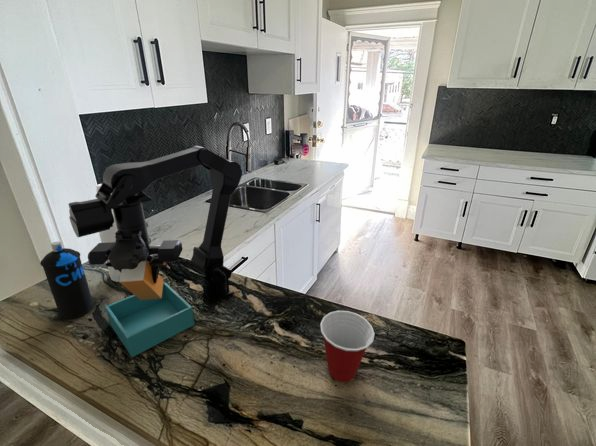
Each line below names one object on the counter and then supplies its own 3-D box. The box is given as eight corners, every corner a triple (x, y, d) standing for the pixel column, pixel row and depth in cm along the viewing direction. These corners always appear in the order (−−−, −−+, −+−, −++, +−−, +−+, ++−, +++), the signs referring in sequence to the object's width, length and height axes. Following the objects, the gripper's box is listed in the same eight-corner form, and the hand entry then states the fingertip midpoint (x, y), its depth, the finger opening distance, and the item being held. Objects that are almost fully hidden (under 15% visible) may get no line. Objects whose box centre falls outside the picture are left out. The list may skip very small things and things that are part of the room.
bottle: (105, 282, 97) (80, 188, 85) (118, 268, 104) (97, 180, 92) (131, 282, 97) (110, 188, 85) (142, 269, 104) (124, 181, 92)
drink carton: (143, 281, 81) (122, 260, 70) (163, 279, 82) (146, 259, 70) (140, 300, 79) (118, 282, 67) (161, 298, 79) (143, 280, 68)
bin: (168, 298, 90) (165, 282, 87) (194, 324, 80) (192, 307, 78) (109, 324, 80) (104, 306, 77) (131, 357, 70) (127, 338, 68)
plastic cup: (357, 403, 60) (363, 356, 56) (308, 377, 66) (310, 332, 61) (375, 365, 69) (382, 321, 64) (331, 345, 74) (334, 303, 69)
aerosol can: (51, 314, 83) (26, 247, 75) (81, 297, 90) (61, 233, 82) (72, 323, 80) (49, 253, 72) (101, 304, 87) (83, 239, 79)
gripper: (64, 240, 60) (84, 307, 66) (165, 237, 62) (176, 301, 69) (92, 219, 71) (108, 278, 77) (178, 216, 73) (186, 274, 79)
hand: (143, 283), depth 75 cm, fingers closed on drink carton, 5 cm apart
